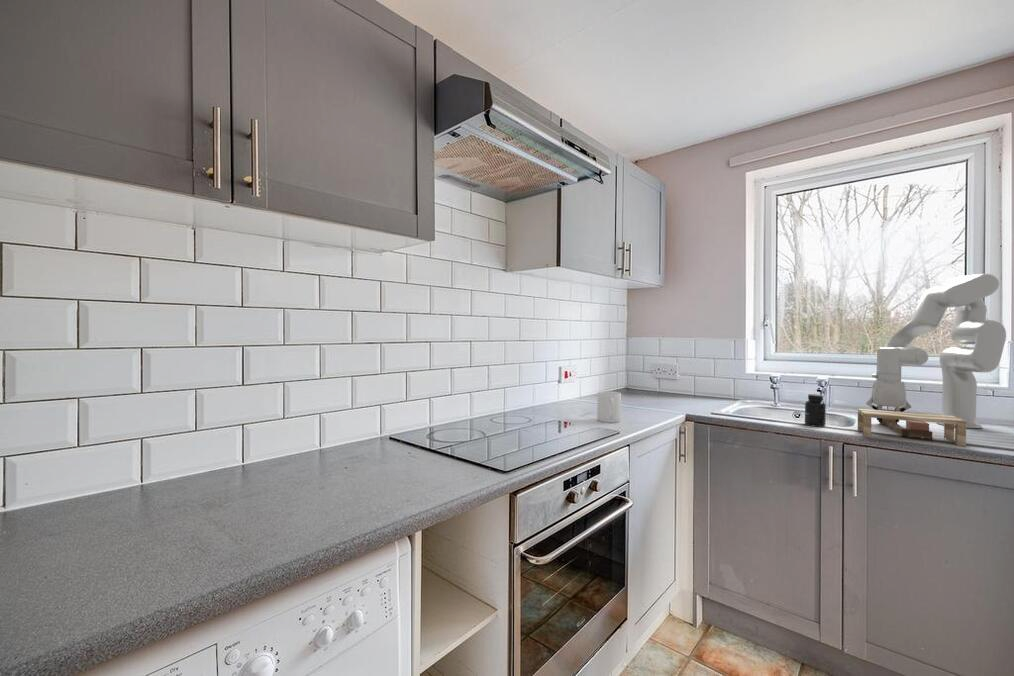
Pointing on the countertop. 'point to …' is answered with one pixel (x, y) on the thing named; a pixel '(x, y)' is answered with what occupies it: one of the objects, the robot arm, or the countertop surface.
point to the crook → (902, 431)
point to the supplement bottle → (815, 410)
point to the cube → (917, 425)
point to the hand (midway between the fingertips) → (887, 422)
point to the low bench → (948, 420)
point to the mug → (609, 407)
